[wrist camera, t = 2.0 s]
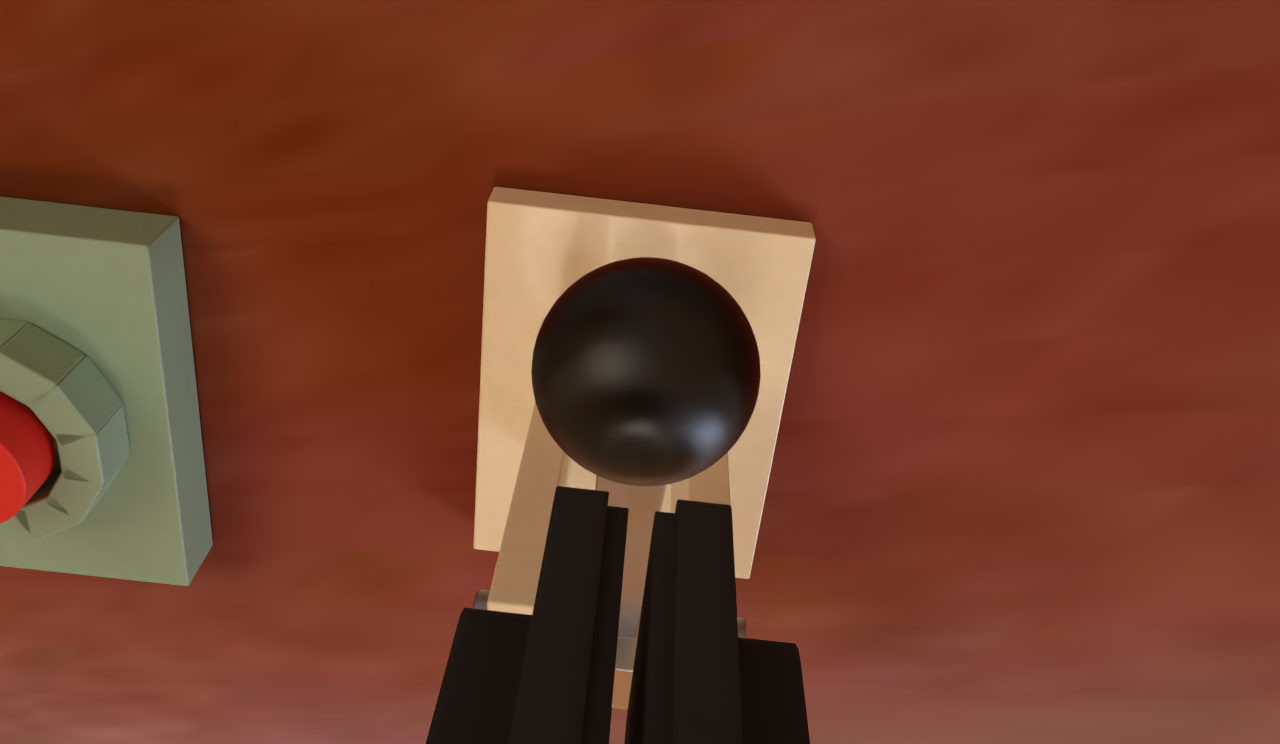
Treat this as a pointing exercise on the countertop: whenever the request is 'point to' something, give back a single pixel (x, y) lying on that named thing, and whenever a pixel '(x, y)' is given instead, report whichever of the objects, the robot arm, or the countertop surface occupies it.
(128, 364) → the button box
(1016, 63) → the countertop surface
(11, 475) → the button
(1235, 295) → the countertop surface
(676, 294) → the lever
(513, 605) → the bracket
